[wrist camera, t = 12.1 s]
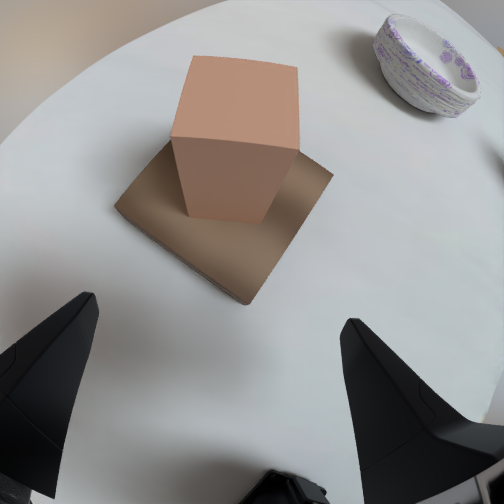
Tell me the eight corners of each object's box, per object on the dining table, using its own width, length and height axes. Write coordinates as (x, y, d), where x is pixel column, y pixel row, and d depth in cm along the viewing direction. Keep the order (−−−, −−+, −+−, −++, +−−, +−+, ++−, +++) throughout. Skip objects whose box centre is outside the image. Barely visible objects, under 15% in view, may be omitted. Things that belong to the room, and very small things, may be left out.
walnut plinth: (245, 305, 22) (249, 304, 19) (124, 218, 22) (113, 206, 19) (321, 189, 25) (333, 174, 22) (211, 119, 25) (211, 99, 22)
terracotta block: (260, 224, 20) (299, 149, 11) (189, 217, 20) (170, 136, 10) (264, 161, 22) (297, 67, 12) (198, 155, 21) (193, 55, 11)
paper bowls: (462, 109, 32) (491, 83, 24) (428, 147, 28) (468, 113, 21) (393, 42, 33) (414, 10, 25) (341, 60, 30) (364, 16, 22)
